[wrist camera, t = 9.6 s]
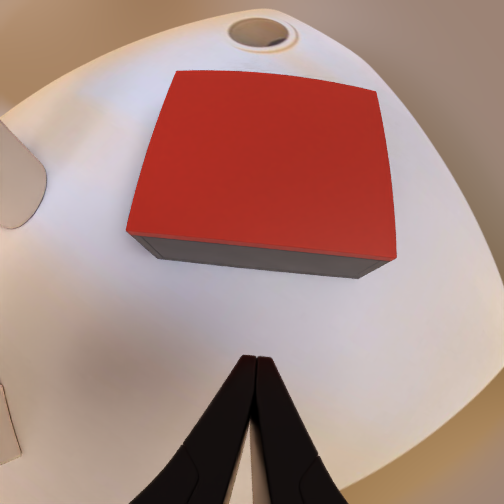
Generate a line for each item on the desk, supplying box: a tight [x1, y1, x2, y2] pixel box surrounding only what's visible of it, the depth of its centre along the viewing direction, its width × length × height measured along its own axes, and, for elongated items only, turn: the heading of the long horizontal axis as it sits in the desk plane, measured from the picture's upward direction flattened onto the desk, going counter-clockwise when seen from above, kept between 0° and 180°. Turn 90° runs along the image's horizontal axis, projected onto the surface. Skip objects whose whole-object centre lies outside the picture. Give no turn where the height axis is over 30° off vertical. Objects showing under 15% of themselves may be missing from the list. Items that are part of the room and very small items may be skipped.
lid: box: [126, 70, 397, 261], centre depth 18 cm, size 13×15×1 cm
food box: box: [131, 235, 390, 279], centre depth 21 cm, size 12×15×6 cm
